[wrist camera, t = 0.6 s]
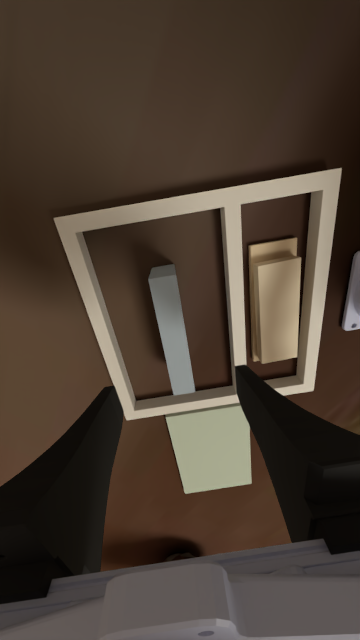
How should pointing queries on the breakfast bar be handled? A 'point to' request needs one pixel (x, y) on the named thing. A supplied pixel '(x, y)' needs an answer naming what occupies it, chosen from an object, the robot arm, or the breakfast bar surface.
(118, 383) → the rack
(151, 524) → the breakfast bar surface
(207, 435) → the mat
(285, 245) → the offcut lower
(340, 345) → the breakfast bar surface
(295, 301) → the offcut upper
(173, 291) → the grey rectangular block
